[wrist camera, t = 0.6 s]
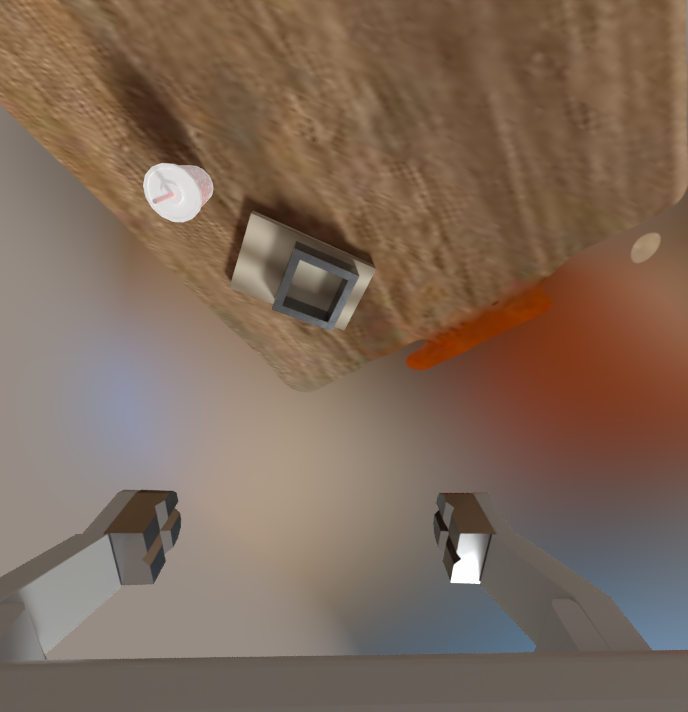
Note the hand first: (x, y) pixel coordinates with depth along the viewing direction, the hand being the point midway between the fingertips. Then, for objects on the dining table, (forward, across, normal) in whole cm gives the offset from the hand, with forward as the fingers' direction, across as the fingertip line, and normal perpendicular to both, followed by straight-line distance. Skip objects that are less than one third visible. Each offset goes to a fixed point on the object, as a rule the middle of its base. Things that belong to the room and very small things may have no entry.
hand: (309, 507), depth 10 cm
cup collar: (+45, +2, -2) cm, 45 cm away
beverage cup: (+42, +18, -15) cm, 49 cm away
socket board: (+46, +4, -3) cm, 46 cm away
